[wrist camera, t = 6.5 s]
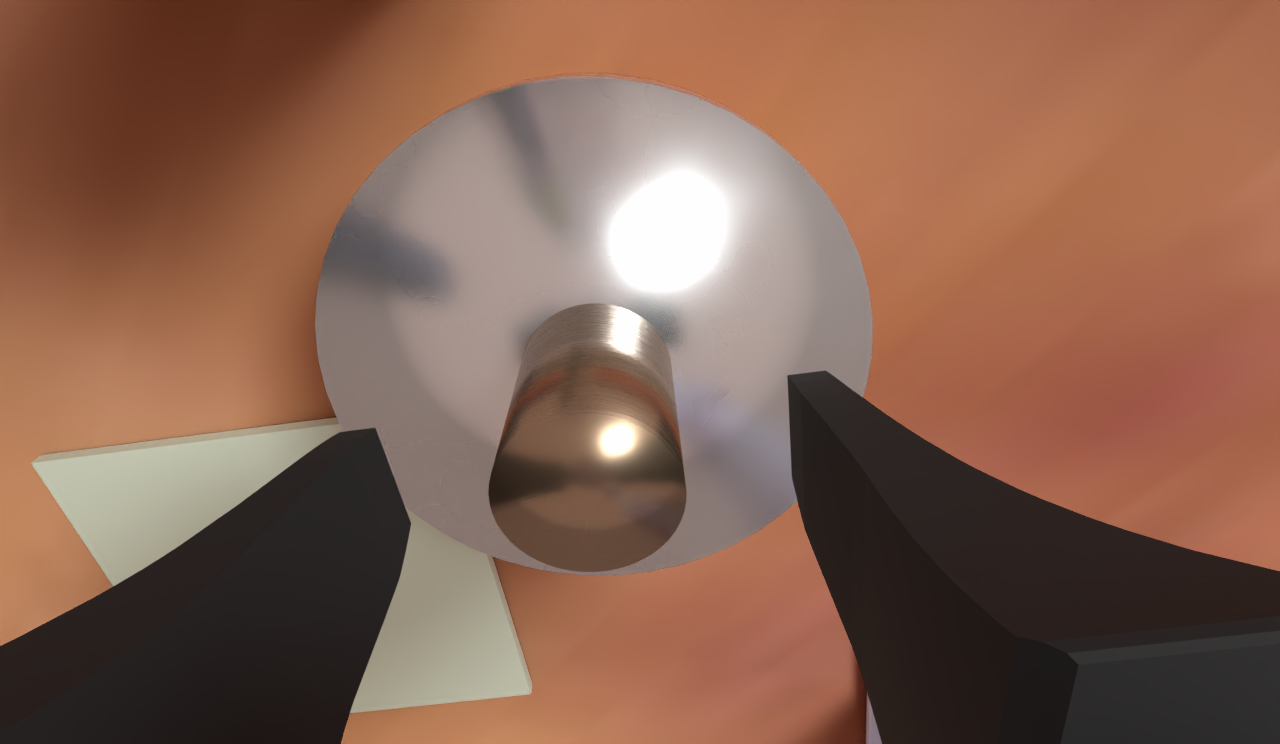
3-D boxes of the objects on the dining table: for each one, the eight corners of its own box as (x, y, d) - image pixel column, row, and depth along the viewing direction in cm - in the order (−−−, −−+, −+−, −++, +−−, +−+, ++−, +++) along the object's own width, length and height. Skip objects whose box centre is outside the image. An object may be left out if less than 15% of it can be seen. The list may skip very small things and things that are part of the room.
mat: (532, 684, 26) (531, 693, 26) (213, 718, 27) (208, 728, 26) (444, 403, 20) (441, 410, 20) (40, 455, 21) (30, 463, 20)
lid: (842, 537, 18) (910, 712, 13) (399, 565, 18) (328, 746, 14) (885, 49, 12) (1019, 85, 8) (255, 96, 13) (68, 155, 8)
